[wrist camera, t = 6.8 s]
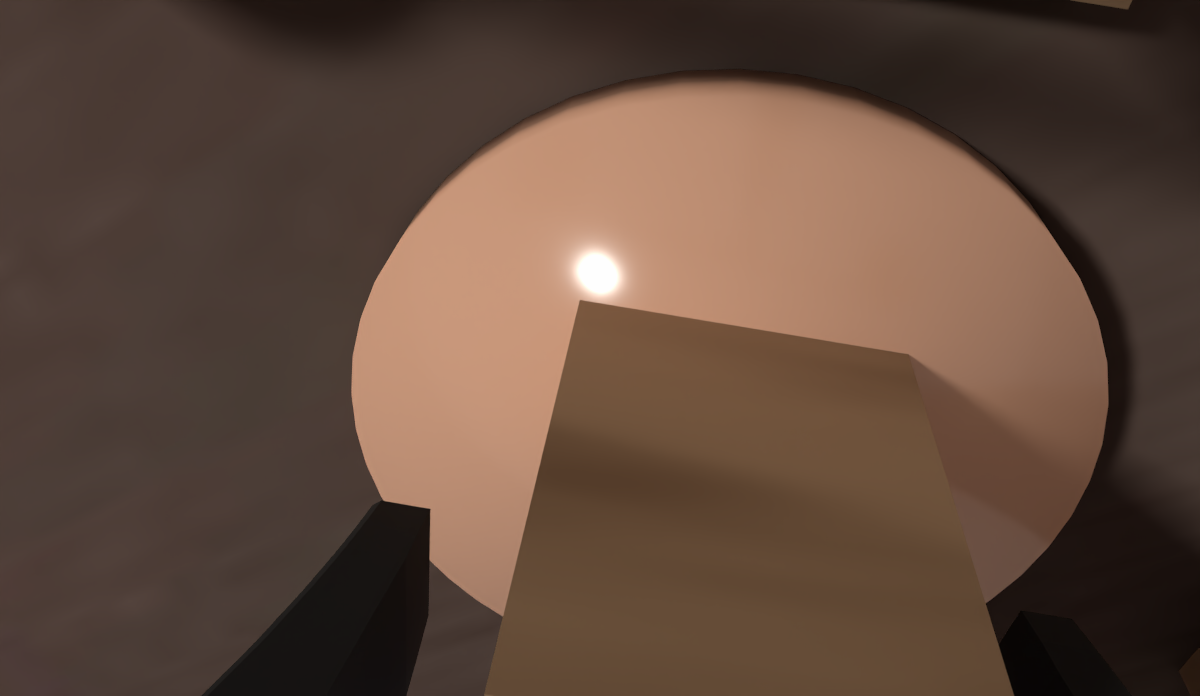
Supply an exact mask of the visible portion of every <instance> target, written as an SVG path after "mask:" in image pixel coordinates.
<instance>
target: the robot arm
mask: <svg viewBox="0 0 1200 696" xmlns="http://www.w3.org/2000/svg"><path fill="white" fill-rule="evenodd" d="M429 556H430V509H428V508H422V507H416V506H411V505H405V504H399V503H393V502H387V501H382V500H381V501H380V502H378V503H376V504H374V505H372V507H371V508H370V509H369V511H368V512H367V513H366V515H365V516H364V517H363V519H362V520H361V521H360V523H359V524H358V525H357V526H356V528H355V529H354V530H353V531H352V533H351V534H350V535H349V537H348V538H347V539H346V540H345V542H344V543H343V544H342V545H341V546H340V548H339V549H338V550H337V551H336V553H335V554H334V555H333V556H332V557H331V559H330V560H329V561H328V562H327V563H326V564H325V566H324V567H323V568H322V569H321V570H320V571H319V573H318V574H317V575H316V576H315V577H314V578H313V580H312V581H311V582H310V583H309V584H308V585H307V586H306V588H305V589H304V590H303V591H302V592H301V593H300V594H299V595H298V597H297V598H296V599H295V600H294V601H293V602H292V603H291V604H290V605H289V606H288V607H287V608H286V610H285V611H284V612H283V613H282V614H281V615H280V616H279V617H278V618H277V619H276V620H275V621H274V623H273V624H272V625H271V626H270V627H269V628H268V629H267V630H266V631H265V632H264V633H263V634H262V636H261V637H260V638H259V639H258V640H257V641H256V642H255V643H254V644H253V645H252V646H251V647H250V648H249V649H248V650H247V651H246V652H245V653H244V654H243V655H242V656H241V657H240V658H239V659H238V660H237V661H236V662H235V663H234V664H233V665H232V666H231V667H230V668H229V669H228V670H227V671H226V672H225V673H224V674H223V675H222V676H221V677H220V678H219V679H218V680H217V681H216V682H215V683H214V684H213V685H212V686H211V687H210V688H209V689H208V690H207V691H206V692H205V693H204V694H203V695H202V696H406V695H407V691H408V688H409V684H410V681H411V677H412V673H413V670H414V666H415V663H416V659H417V655H418V652H419V648H420V644H421V641H422V637H423V633H424V630H425V626H426V622H427V618H428V606H429ZM999 648H1000V652H1001V655H1002V658H1003V661H1004V665H1005V668H1006V671H1007V674H1008V678H1009V681H1010V684H1011V687H1012V690H1013V694H1014V696H1132V695H1131V694H1130V693H1129V692H1128V690H1127V689H1126V688H1125V686H1124V685H1123V684H1122V682H1121V681H1120V680H1119V679H1118V677H1117V676H1116V675H1115V673H1114V672H1113V671H1112V670H1111V668H1110V667H1109V666H1108V664H1107V663H1106V662H1105V660H1104V659H1103V658H1102V657H1101V655H1100V654H1099V653H1098V651H1097V650H1096V649H1095V648H1094V646H1093V645H1092V644H1091V643H1090V641H1089V640H1088V639H1087V637H1086V636H1085V635H1084V634H1083V632H1082V631H1081V630H1080V629H1079V628H1078V626H1077V625H1076V624H1075V623H1074V621H1073V620H1072V619H1068V618H1062V617H1056V616H1050V615H1044V614H1039V613H1033V612H1027V611H1020V613H1019V614H1018V616H1017V618H1016V619H1015V621H1014V622H1013V624H1012V625H1011V627H1010V628H1009V630H1008V632H1007V633H1006V635H1005V636H1004V638H1003V639H1002V641H1001V642H1000V644H999Z"/></svg>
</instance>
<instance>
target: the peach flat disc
mask: <svg viewBox="0 0 1200 696" xmlns="http://www.w3.org/2000/svg"><path fill="white" fill-rule="evenodd" d="M580 300H583V301H590V302H596V303H602V304H608V305H614V306H620V307H626V308H632V309H638V310H644V311H650V312H656V313H662V314H668V315H674V316H680V317H686V318H692V319H698V320H704V321H710V322H716V323H722V324H728V325H735V326H741V327H747V328H753V329H759V330H765V331H771V332H777V333H783V334H789V335H795V336H801V337H807V338H813V339H819V340H825V341H831V342H837V343H843V344H849V345H855V346H861V347H867V348H873V349H879V350H886V351H892V352H898V353H904V354H909V357H910V361H911V364H912V367H913V370H914V374H915V377H916V380H917V383H918V386H919V390H920V393H921V396H922V399H923V403H924V406H925V409H926V412H927V416H928V419H929V422H930V425H931V428H932V432H933V435H934V438H935V441H936V445H937V448H938V451H939V454H940V458H941V461H942V464H943V467H944V471H945V474H946V477H947V480H948V483H949V487H950V490H951V493H952V496H953V500H954V503H955V506H956V509H957V513H958V516H959V519H960V522H961V526H962V529H963V532H964V535H965V538H966V542H967V545H968V548H969V551H970V555H971V558H972V561H973V564H974V568H975V571H976V574H977V577H978V580H979V584H980V587H981V590H982V593H983V597H984V600H985V603H987V602H988V601H990V600H991V599H992V598H994V597H995V596H996V595H997V594H999V593H1000V592H1001V591H1002V590H1004V589H1005V588H1006V587H1007V586H1009V585H1010V584H1011V583H1012V582H1014V581H1015V580H1016V579H1017V578H1019V577H1020V576H1021V575H1022V574H1023V573H1024V572H1025V571H1026V570H1027V569H1028V568H1029V567H1030V566H1031V565H1032V564H1033V563H1034V562H1035V561H1036V560H1037V558H1038V557H1039V556H1040V555H1041V554H1042V553H1043V552H1044V551H1045V550H1046V549H1047V548H1048V547H1049V546H1050V544H1051V543H1052V542H1053V540H1054V539H1055V538H1056V536H1057V535H1058V533H1059V532H1060V531H1061V529H1062V528H1063V527H1064V525H1065V524H1066V523H1067V521H1068V520H1069V519H1070V517H1071V516H1072V514H1073V512H1074V510H1075V508H1076V506H1077V504H1078V503H1079V501H1080V499H1081V497H1082V495H1083V493H1084V491H1085V489H1086V488H1087V486H1088V484H1089V482H1090V479H1091V476H1092V473H1093V470H1094V467H1095V464H1096V461H1097V459H1098V456H1099V453H1100V450H1101V447H1102V444H1103V437H1104V431H1105V424H1106V418H1107V411H1108V404H1109V401H1108V369H1107V359H1106V354H1105V350H1104V345H1103V341H1102V336H1101V332H1100V327H1099V323H1098V319H1097V317H1096V315H1095V312H1094V310H1093V308H1092V305H1091V303H1090V301H1089V298H1088V296H1087V294H1086V291H1085V289H1084V287H1083V284H1082V282H1081V280H1080V278H1079V276H1078V275H1077V273H1076V271H1075V270H1074V268H1073V267H1072V265H1071V264H1070V262H1069V261H1068V259H1067V258H1066V256H1065V255H1064V253H1063V252H1062V250H1061V249H1060V247H1059V246H1058V244H1057V243H1056V241H1055V240H1054V238H1053V237H1052V235H1051V234H1050V232H1049V231H1048V229H1047V228H1046V226H1045V225H1044V223H1043V222H1042V220H1041V219H1040V217H1039V216H1038V214H1037V213H1036V211H1035V210H1034V208H1033V207H1032V205H1031V204H1030V202H1029V201H1028V200H1027V199H1026V198H1025V197H1024V196H1023V195H1022V194H1021V193H1020V192H1019V190H1018V189H1017V188H1016V187H1015V186H1014V185H1013V184H1012V183H1011V182H1010V181H1009V180H1008V179H1007V178H1006V177H1005V176H1004V174H1003V173H1002V172H1001V171H1000V170H999V169H998V168H997V167H996V166H995V165H994V164H992V163H991V162H990V161H988V160H987V159H986V158H985V157H983V156H982V155H981V154H979V153H978V152H977V151H976V150H974V149H973V148H972V147H970V146H969V145H968V144H966V143H965V142H964V141H963V140H961V139H960V138H959V137H957V136H956V135H955V134H953V133H951V132H950V131H948V130H946V129H944V128H942V127H941V126H939V125H937V124H935V123H933V122H932V121H930V120H928V119H926V118H924V117H923V116H921V115H919V114H917V113H915V112H914V111H912V110H910V109H908V108H906V107H904V106H901V105H898V104H896V103H893V102H890V101H888V100H885V99H883V98H880V97H877V96H875V95H872V94H870V93H867V92H864V91H862V90H859V89H856V88H853V87H849V86H845V85H841V84H836V83H832V82H828V81H823V80H819V79H815V78H810V77H806V76H802V75H797V74H786V73H776V72H766V71H755V70H745V69H726V70H697V71H679V72H673V73H667V74H661V75H655V76H649V77H643V78H637V79H631V80H625V81H622V82H618V83H615V84H612V85H609V86H605V87H602V88H599V89H596V90H592V91H589V92H586V93H582V94H579V95H576V96H573V97H570V98H568V99H566V100H564V101H562V102H560V103H557V104H555V105H553V106H551V107H549V108H547V109H544V110H542V111H540V112H538V113H536V114H534V115H531V116H529V117H527V118H525V119H523V120H522V121H520V122H519V123H517V124H515V125H514V126H512V127H511V128H509V129H508V130H506V131H505V132H503V133H501V134H500V135H498V136H497V137H495V138H494V139H492V140H491V141H489V142H487V143H486V144H484V145H483V146H482V147H480V148H479V149H478V150H477V151H476V152H475V153H474V154H472V155H471V156H470V157H469V158H468V159H467V160H466V161H464V162H463V163H462V164H461V165H460V166H459V167H458V168H456V169H455V170H454V171H453V172H452V173H451V174H450V175H448V176H447V177H446V179H445V180H444V181H443V182H442V183H441V184H440V186H439V187H438V188H437V189H436V190H435V192H434V193H433V194H432V195H431V196H430V198H429V199H428V200H427V201H426V202H425V203H424V205H423V206H422V207H421V208H420V209H419V211H418V212H417V214H416V215H415V217H414V219H413V220H412V222H411V223H410V225H409V227H408V228H407V230H406V231H405V233H404V234H403V236H402V238H401V239H400V241H399V242H398V244H397V246H396V247H395V249H394V251H393V252H392V254H391V256H390V257H389V259H388V261H387V262H386V264H385V266H384V267H383V269H382V271H381V272H380V274H379V276H378V277H377V279H376V281H375V283H374V286H373V288H372V291H371V293H370V296H369V298H368V301H367V304H366V306H365V309H364V311H363V314H362V316H361V319H360V324H359V329H358V334H357V338H356V343H355V348H354V353H353V364H352V393H351V394H352V402H353V409H354V417H355V424H356V431H357V434H358V438H359V441H360V444H361V448H362V451H363V455H364V458H365V461H366V464H367V467H368V469H369V471H370V473H371V475H372V478H373V480H374V482H375V484H376V486H377V488H378V491H379V493H380V495H381V497H382V498H383V500H384V501H387V502H393V503H399V504H405V505H411V506H416V507H422V508H428V509H430V556H429V560H430V561H431V562H432V563H433V564H434V565H435V566H436V567H437V568H439V569H440V570H441V571H442V572H443V573H444V574H445V575H446V576H447V577H448V578H449V579H450V580H452V581H453V582H454V583H455V584H457V585H458V586H459V587H461V588H462V589H463V590H464V591H466V592H467V593H468V594H470V595H471V596H472V597H474V598H475V599H476V600H477V601H479V602H481V603H482V604H484V605H485V606H487V607H489V608H490V609H492V610H493V611H495V612H497V613H498V614H500V615H501V616H503V615H504V611H505V607H506V602H507V598H508V594H509V590H510V586H511V582H512V578H513V574H514V569H515V565H516V561H517V557H518V553H519V549H520V545H521V541H522V536H523V532H524V528H525V524H526V520H527V516H528V512H529V507H530V503H531V499H532V495H533V491H534V487H535V483H536V479H537V474H538V470H539V466H540V462H541V458H542V454H543V450H544V446H545V441H546V437H547V433H548V429H549V425H550V421H551V417H552V412H553V408H554V404H555V400H556V396H557V392H558V388H559V384H560V379H561V375H562V371H563V367H564V363H565V359H566V355H567V350H568V346H569V342H570V338H571V334H572V330H573V326H574V322H575V317H576V313H577V309H578V305H579V301H580Z"/></svg>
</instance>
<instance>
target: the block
mask: <svg viewBox="0 0 1200 696" xmlns="http://www.w3.org/2000/svg"><path fill="white" fill-rule="evenodd" d="M484 696H1014V694H1013V690H1012V687H1011V684H1010V681H1009V678H1008V674H1007V671H1006V668H1005V665H1004V661H1003V658H1002V655H1001V652H1000V648H999V645H998V642H997V639H996V635H995V632H994V629H993V626H992V623H991V619H990V616H989V613H988V610H987V606H986V603H985V600H984V597H983V593H982V590H981V587H980V584H979V580H978V577H977V574H976V571H975V568H974V564H973V561H972V558H971V555H970V551H969V548H968V545H967V542H966V538H965V535H964V532H963V529H962V526H961V522H960V519H959V516H958V513H957V509H956V506H955V503H954V500H953V496H952V493H951V490H950V487H949V483H948V480H947V477H946V474H945V471H944V467H943V464H942V461H941V458H940V454H939V451H938V448H937V445H936V441H935V438H934V435H933V432H932V428H931V425H930V422H929V419H928V416H927V412H926V409H925V406H924V403H923V399H922V396H921V393H920V390H919V386H918V383H917V380H916V377H915V374H914V370H913V367H912V364H911V361H910V357H909V354H904V353H898V352H892V351H886V350H879V349H873V348H867V347H861V346H855V345H849V344H843V343H837V342H831V341H825V340H819V339H813V338H807V337H801V336H795V335H789V334H783V333H777V332H771V331H765V330H759V329H753V328H747V327H741V326H735V325H728V324H722V323H716V322H710V321H704V320H698V319H692V318H686V317H680V316H674V315H668V314H662V313H656V312H650V311H644V310H638V309H632V308H626V307H620V306H614V305H608V304H602V303H596V302H590V301H583V300H580V301H579V305H578V309H577V313H576V317H575V322H574V326H573V330H572V334H571V338H570V342H569V346H568V350H567V355H566V359H565V363H564V367H563V371H562V375H561V379H560V384H559V388H558V392H557V396H556V400H555V404H554V408H553V412H552V417H551V421H550V425H549V429H548V433H547V437H546V441H545V446H544V450H543V454H542V458H541V462H540V466H539V470H538V474H537V479H536V483H535V487H534V491H533V495H532V499H531V503H530V507H529V512H528V516H527V520H526V524H525V528H524V532H523V536H522V541H521V545H520V549H519V553H518V557H517V561H516V565H515V569H514V574H513V578H512V582H511V586H510V590H509V594H508V598H507V602H506V607H505V611H504V615H503V619H502V623H501V627H500V631H499V636H498V640H497V644H496V648H495V652H494V656H493V660H492V664H491V669H490V673H489V677H488V681H487V685H486V689H485V693H484Z"/></svg>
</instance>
